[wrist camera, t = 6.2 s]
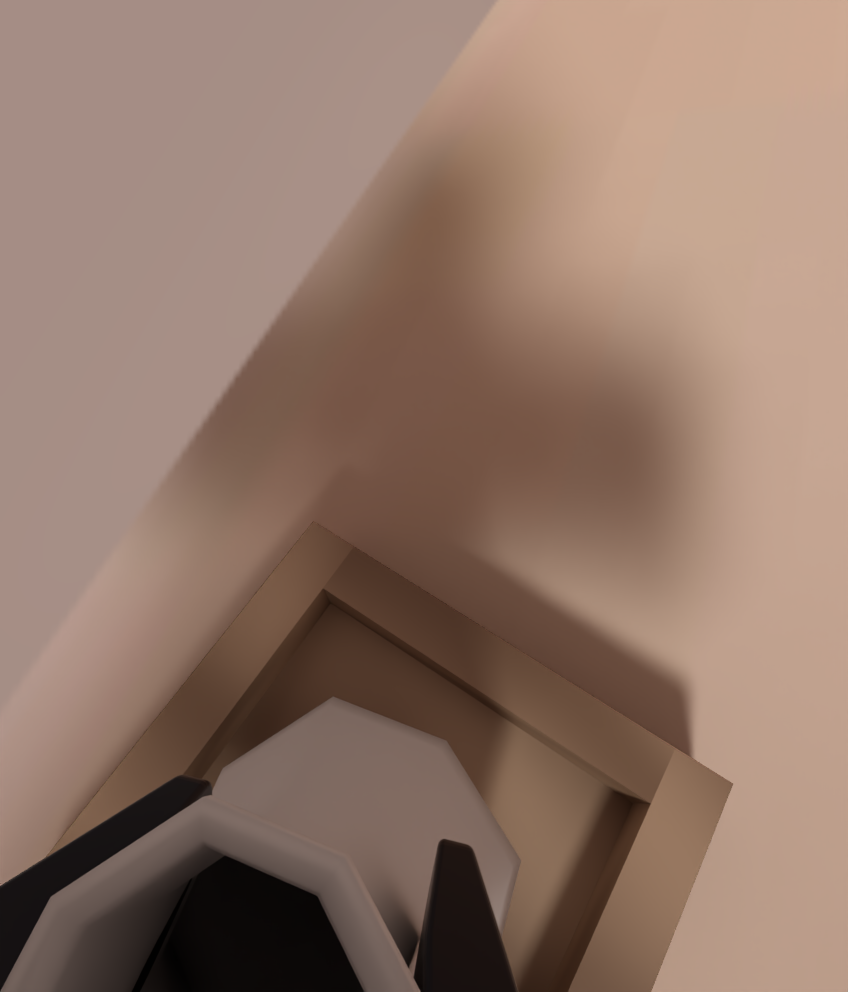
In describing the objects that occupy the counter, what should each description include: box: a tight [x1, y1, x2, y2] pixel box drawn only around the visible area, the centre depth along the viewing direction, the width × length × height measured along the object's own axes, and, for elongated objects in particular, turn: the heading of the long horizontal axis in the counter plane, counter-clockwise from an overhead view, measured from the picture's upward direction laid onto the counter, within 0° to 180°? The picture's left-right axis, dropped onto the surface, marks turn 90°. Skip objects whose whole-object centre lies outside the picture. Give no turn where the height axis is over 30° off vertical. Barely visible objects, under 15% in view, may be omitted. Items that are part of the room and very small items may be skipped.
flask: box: [0, 697, 521, 992], centre depth 9 cm, size 7×7×10 cm
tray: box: [46, 521, 733, 992], centre depth 16 cm, size 13×13×2 cm
